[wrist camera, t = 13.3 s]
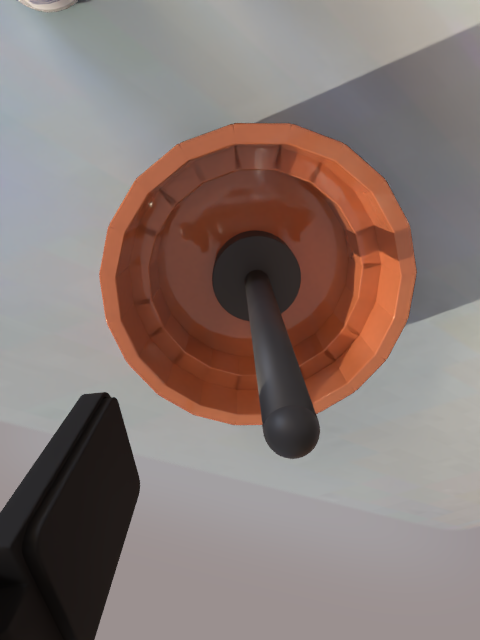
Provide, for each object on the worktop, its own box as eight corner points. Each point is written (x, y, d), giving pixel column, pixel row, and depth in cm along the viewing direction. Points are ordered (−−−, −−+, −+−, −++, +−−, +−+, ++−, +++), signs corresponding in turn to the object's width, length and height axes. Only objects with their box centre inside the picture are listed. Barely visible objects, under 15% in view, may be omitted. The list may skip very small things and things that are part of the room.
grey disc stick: (265, 212, 22) (335, 299, 7) (310, 280, 24) (445, 465, 9) (196, 263, 23) (135, 430, 8) (245, 324, 25) (266, 556, 10)
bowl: (286, 71, 20) (308, 33, 14) (412, 292, 25) (465, 328, 19) (79, 243, 23) (31, 265, 18) (228, 408, 28) (227, 467, 22)
